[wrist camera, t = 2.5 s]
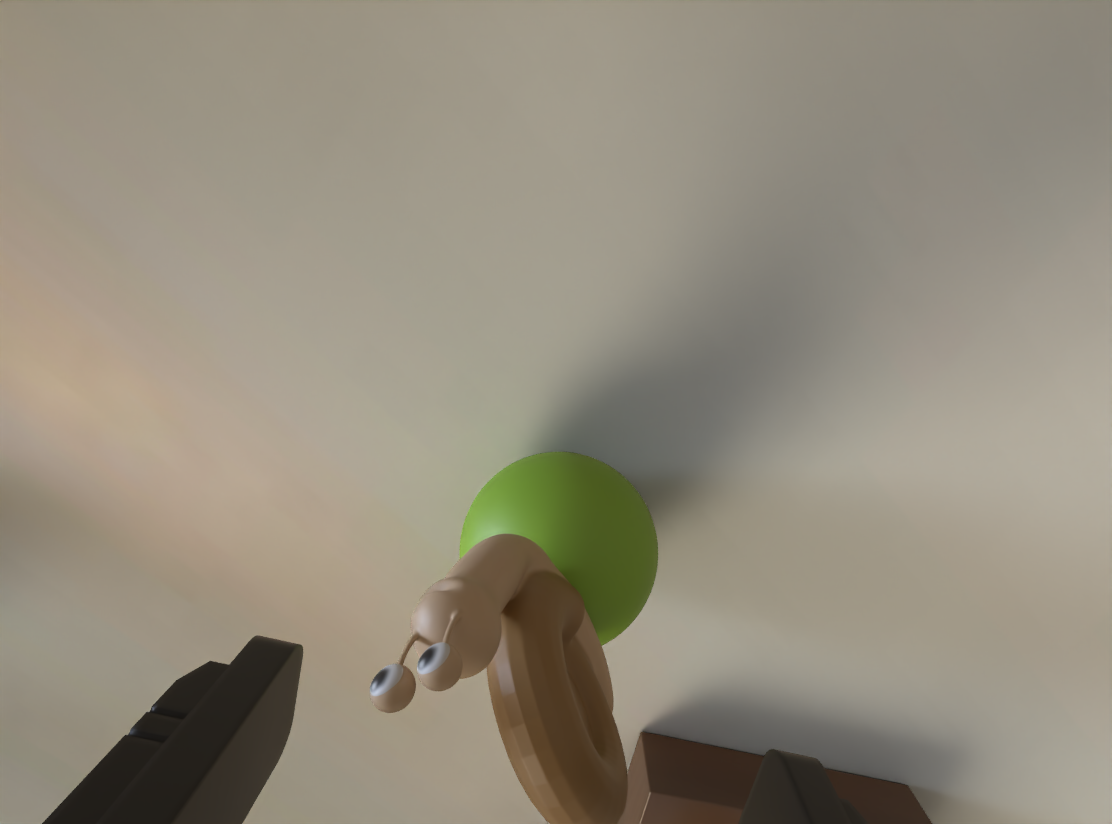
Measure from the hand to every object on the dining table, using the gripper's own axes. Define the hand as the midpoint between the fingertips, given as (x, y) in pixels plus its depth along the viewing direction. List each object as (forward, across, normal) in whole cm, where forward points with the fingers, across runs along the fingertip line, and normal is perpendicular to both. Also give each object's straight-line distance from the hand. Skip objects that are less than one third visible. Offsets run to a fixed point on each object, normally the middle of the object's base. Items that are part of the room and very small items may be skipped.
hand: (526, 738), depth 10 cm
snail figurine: (+10, 0, -1) cm, 10 cm away
